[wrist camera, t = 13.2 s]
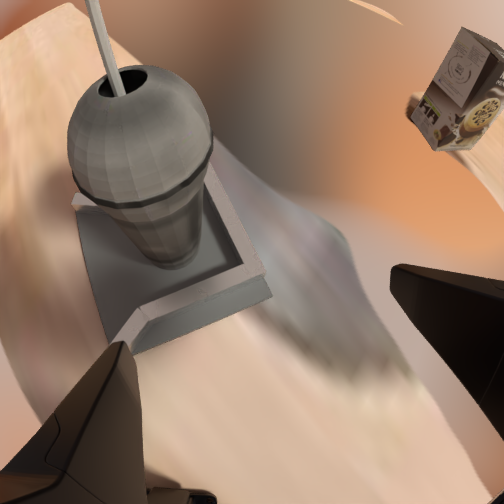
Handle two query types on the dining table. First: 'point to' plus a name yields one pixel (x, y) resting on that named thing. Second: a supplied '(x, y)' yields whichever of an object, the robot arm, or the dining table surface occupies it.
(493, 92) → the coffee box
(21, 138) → the dining table surface
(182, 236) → the beverage cup
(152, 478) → the dining table surface
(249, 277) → the flared docking tray
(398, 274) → the robot arm
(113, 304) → the gray raised edge tray
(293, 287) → the dining table surface
